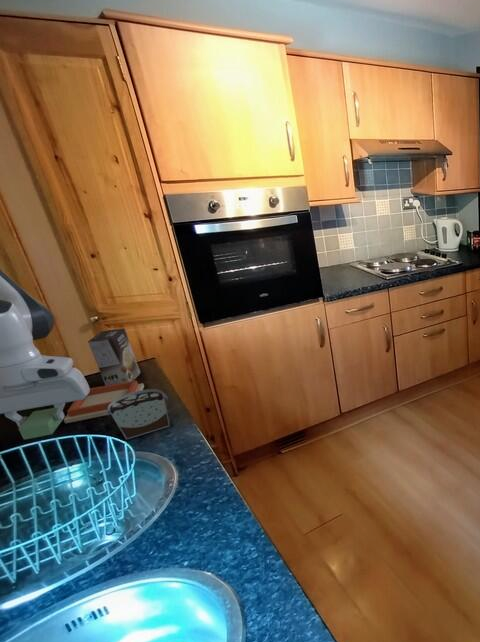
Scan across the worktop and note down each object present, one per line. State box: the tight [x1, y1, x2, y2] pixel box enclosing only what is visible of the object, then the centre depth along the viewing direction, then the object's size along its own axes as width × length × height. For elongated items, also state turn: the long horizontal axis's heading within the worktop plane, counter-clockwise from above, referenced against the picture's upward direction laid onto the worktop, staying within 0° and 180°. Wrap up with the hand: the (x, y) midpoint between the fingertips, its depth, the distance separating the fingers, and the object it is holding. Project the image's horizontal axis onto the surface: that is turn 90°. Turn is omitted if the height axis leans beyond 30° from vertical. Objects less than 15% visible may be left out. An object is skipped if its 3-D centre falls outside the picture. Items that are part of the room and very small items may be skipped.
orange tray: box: [63, 379, 145, 424], centre depth 131 cm, size 15×15×3 cm
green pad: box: [18, 407, 65, 440], centre depth 107 cm, size 5×8×3 cm, turn 27°
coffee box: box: [87, 328, 141, 386], centre depth 141 cm, size 9×6×16 cm
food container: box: [107, 388, 171, 440], centre depth 119 cm, size 12×6×10 cm, turn 130°
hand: (42, 422), depth 107 cm, fingers closed on green pad, 5 cm apart
